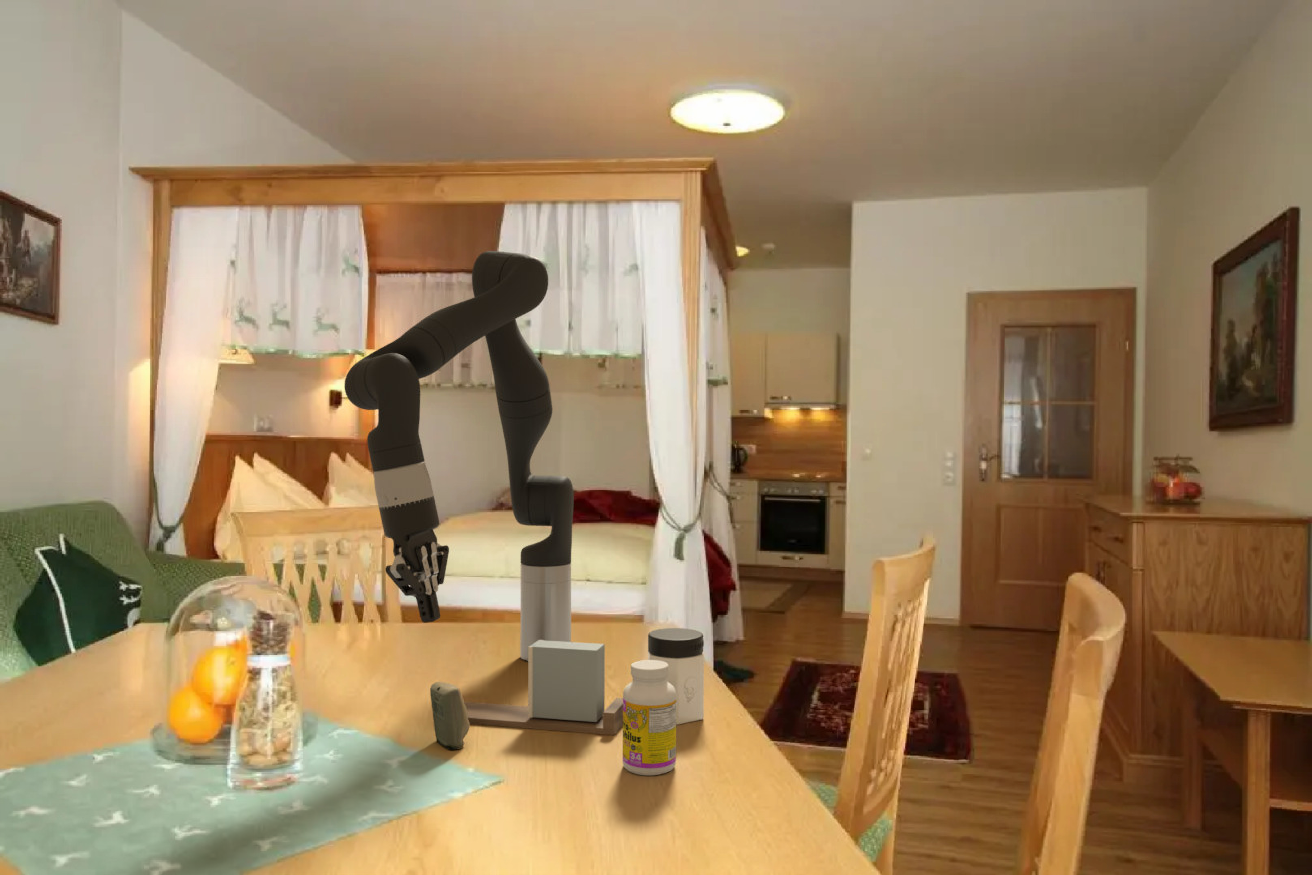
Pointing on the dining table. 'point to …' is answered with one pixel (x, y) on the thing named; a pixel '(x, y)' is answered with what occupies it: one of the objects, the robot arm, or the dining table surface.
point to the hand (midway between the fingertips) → (431, 620)
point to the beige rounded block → (449, 715)
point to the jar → (682, 668)
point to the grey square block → (566, 680)
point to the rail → (519, 718)
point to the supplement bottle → (649, 720)
